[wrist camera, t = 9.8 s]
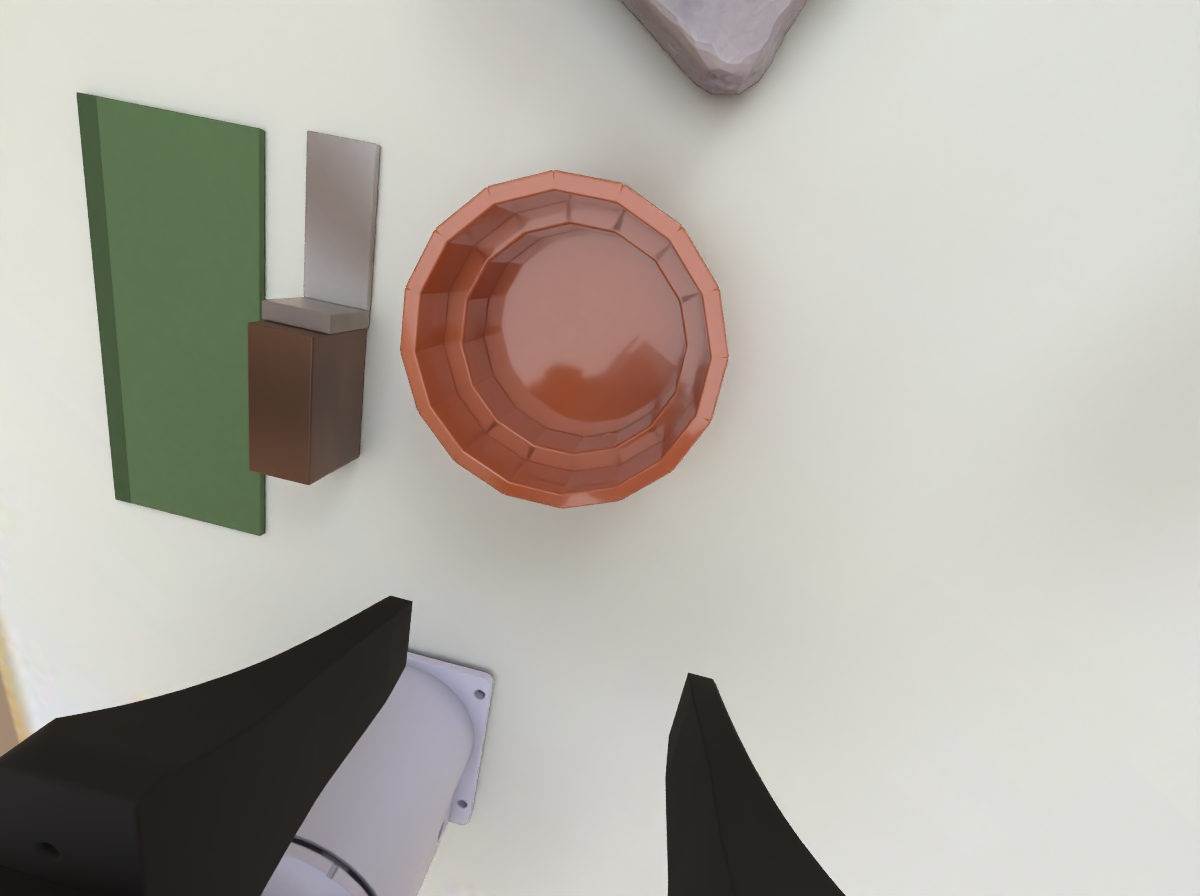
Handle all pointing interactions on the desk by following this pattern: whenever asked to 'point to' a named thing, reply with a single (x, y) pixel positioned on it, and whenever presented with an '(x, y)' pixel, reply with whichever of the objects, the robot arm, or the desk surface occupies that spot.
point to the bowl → (564, 339)
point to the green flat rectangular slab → (177, 303)
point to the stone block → (719, 37)
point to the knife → (318, 325)
